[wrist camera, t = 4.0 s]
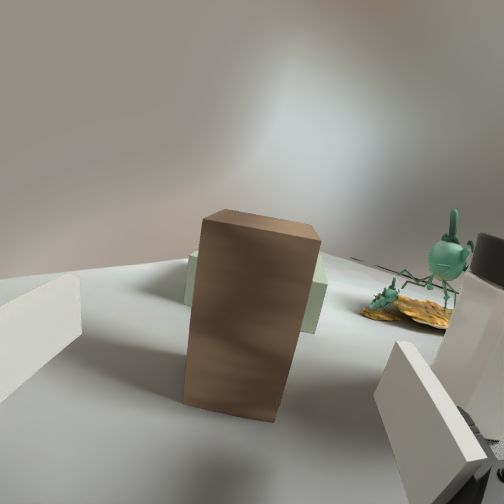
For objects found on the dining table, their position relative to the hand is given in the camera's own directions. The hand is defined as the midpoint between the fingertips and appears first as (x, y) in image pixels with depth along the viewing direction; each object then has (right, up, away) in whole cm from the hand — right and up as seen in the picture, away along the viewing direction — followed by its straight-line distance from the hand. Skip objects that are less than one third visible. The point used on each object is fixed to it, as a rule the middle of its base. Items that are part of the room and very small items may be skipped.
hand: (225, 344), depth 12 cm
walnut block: (0, -5, +6) cm, 8 cm away
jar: (+17, -8, +5) cm, 19 cm away
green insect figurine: (+22, -5, +22) cm, 31 cm away
